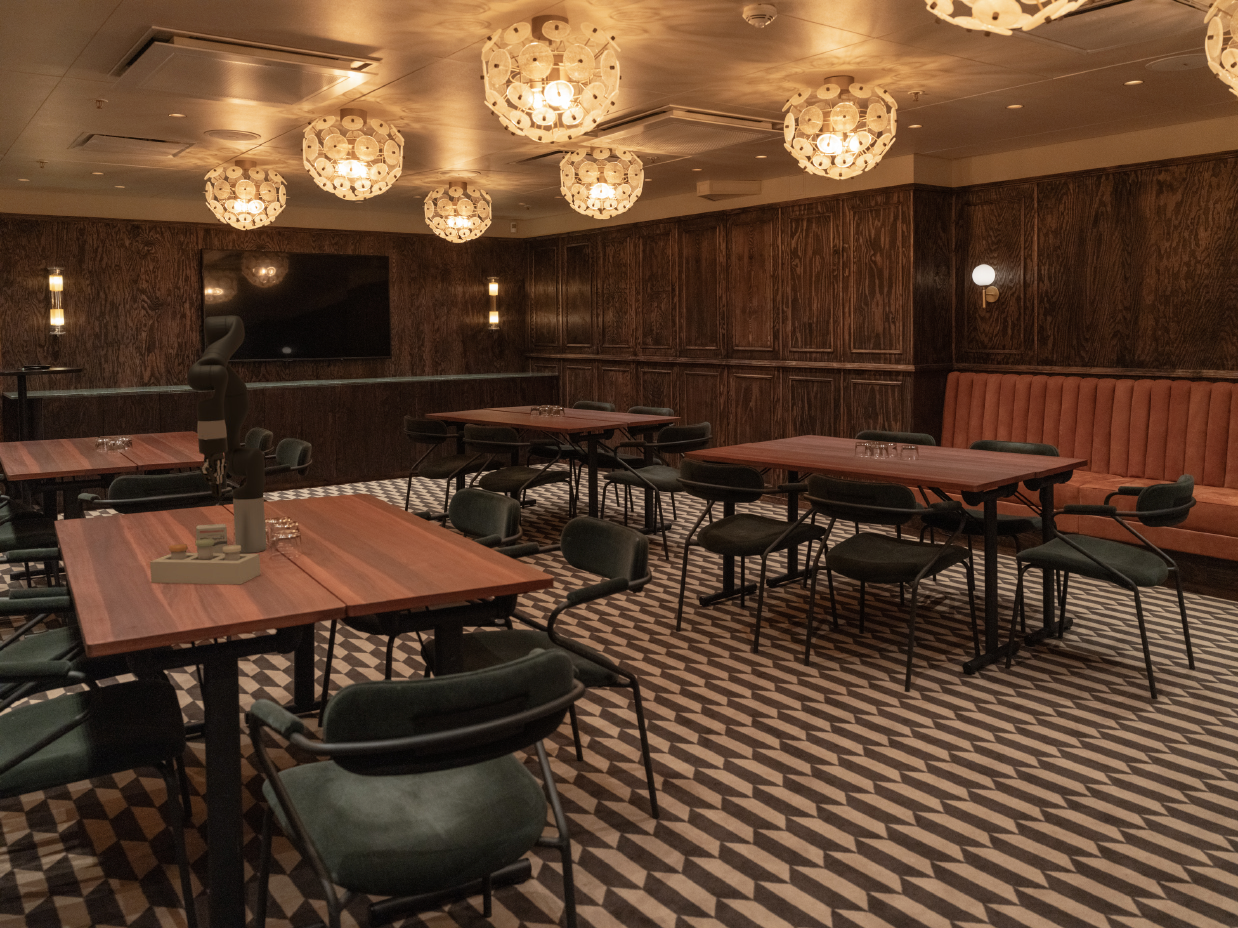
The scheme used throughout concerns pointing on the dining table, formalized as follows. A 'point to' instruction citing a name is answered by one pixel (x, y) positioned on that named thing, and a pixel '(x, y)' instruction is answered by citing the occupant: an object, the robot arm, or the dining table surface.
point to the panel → (205, 569)
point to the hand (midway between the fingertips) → (216, 496)
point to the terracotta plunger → (178, 551)
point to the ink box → (213, 535)
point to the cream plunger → (232, 552)
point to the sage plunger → (205, 549)
